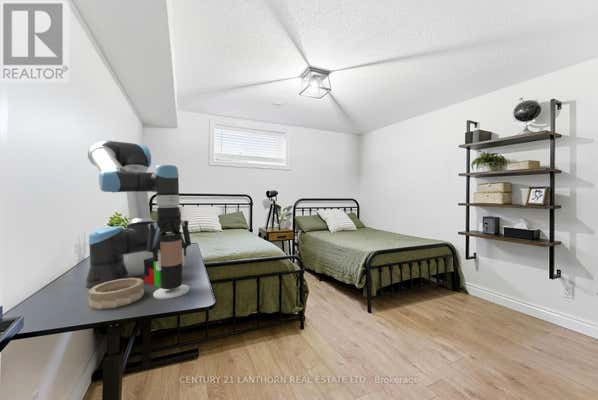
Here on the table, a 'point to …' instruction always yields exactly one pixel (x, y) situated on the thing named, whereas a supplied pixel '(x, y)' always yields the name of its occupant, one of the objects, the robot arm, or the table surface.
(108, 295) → the holder ring
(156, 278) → the puzzle toy
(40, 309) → the table surface
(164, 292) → the white round disc
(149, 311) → the table surface
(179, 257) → the travel mug
